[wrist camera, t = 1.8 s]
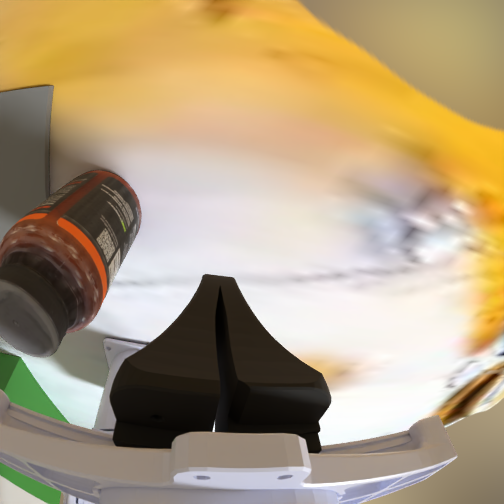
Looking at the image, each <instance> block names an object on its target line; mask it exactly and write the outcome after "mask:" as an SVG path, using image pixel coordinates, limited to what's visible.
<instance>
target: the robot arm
mask: <svg viewBox="0 0 504 504" xmlns="http://www.w3.org/2000/svg"><path fill="white" fill-rule="evenodd" d="M103 345H104V350H105V355H106V359H107V363H108V368H109V374H108V377H107V380H106V384H105V387H104V391H103V395H102V398H101V402H100V406H99V409H98V413H97V417H96V421H95V425H94V428H92V430H91V429H87V428H83V427H80V426H76V425H73V424H70V423H66V422H63V421H60V420H57V419H54V418H51V417H48V416H45V415H43V414H40V413H37V412H34V411H32V410H29V409H27V408H24V407H22V406H19V405H17V404H15V403H12V402H10V400H9V398H8V396H7V395H6V394H5V392H4V391H2V390H1V389H0V462H1V463H2V464H4V465H6V466H8V467H10V468H12V469H14V470H16V471H18V472H20V473H22V474H24V475H26V476H28V477H30V478H32V479H34V480H36V481H38V482H40V483H42V484H45V485H47V486H49V487H51V488H54V489H56V490H59V491H61V492H63V495H64V501H63V504H360V503H363V502H366V501H369V500H372V499H375V498H378V497H381V496H384V495H387V494H390V493H392V492H395V491H397V490H400V489H403V488H405V487H408V486H411V485H413V484H415V483H418V482H421V481H423V480H425V479H426V478H428V477H430V476H431V475H433V474H434V473H436V472H437V471H439V470H440V469H442V468H443V467H444V466H446V465H447V464H449V463H450V462H451V461H453V460H454V459H455V458H457V453H456V451H455V449H454V447H453V445H452V442H451V440H450V438H449V436H448V434H447V432H446V430H445V427H444V425H443V423H442V421H441V419H440V417H439V415H435V416H432V417H428V418H425V419H421V420H419V421H417V422H416V423H415V424H413V425H412V426H411V427H410V428H409V430H407V431H403V432H399V433H395V434H390V435H386V436H381V437H376V438H371V439H366V440H360V441H354V442H348V443H341V444H334V445H326V446H321V444H320V440H319V436H318V433H319V432H320V425H319V422H318V421H319V420H320V418H321V417H322V416H323V414H324V413H325V412H326V410H327V409H328V408H329V406H330V404H331V395H330V392H329V389H328V386H327V384H326V381H325V379H324V377H323V375H322V373H320V372H318V371H317V370H315V369H313V368H312V367H310V366H308V365H307V364H305V363H304V362H302V361H301V360H299V359H298V358H297V357H295V356H294V355H292V354H291V353H290V352H289V351H287V350H286V349H285V348H284V347H283V346H282V345H281V344H280V343H278V342H277V341H276V340H275V339H274V338H273V337H272V336H271V335H270V334H269V332H268V331H267V330H266V329H265V328H264V327H263V325H262V324H261V323H260V322H259V320H258V319H257V317H256V316H255V315H254V313H253V312H252V310H251V309H250V307H249V305H248V304H247V302H246V300H245V299H244V297H243V295H242V293H241V291H240V289H239V287H238V285H237V283H236V280H235V279H234V278H233V277H225V276H217V275H209V274H205V275H203V276H202V280H201V283H200V285H199V287H198V289H197V291H196V293H195V294H194V296H193V298H192V299H191V301H190V302H189V304H188V305H187V306H186V308H185V309H184V310H183V312H182V313H181V314H180V315H179V317H178V318H177V319H176V320H175V321H174V322H173V323H172V324H171V325H170V326H169V327H168V328H167V329H166V330H165V331H164V332H163V333H162V334H161V335H160V336H158V337H157V338H156V339H154V340H153V341H152V342H150V343H149V344H148V345H144V344H138V343H132V342H126V341H120V340H115V339H110V338H105V339H104V341H103ZM214 422H215V432H212V431H213V426H214Z"/></svg>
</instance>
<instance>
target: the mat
mask: <svg viewBox="0 0 504 504" xmlns="http://www.w3.org/2000/svg"><path fill="white" fill-rule="evenodd" d="M53 88H54V86H43V87H35V88H27V89H20V90H13V91H7V92H2V93H0V244H1V242H2V239H3V237H4V236H5V234H6V233H7V232H8V231H9V230H10V229H11V227H13V226H14V225H15V224H16V223H17V222H18V221H19V220H20V219H22V218H23V217H24V216H25V215H26V214H28V213H29V212H30V211H31V210H33V209H34V208H35V207H36V206H38V205H39V204H40V203H42V202H43V201H44V200H46V199H47V198H48V197H49V196H50V189H49V135H50V118H51V106H52V96H53Z"/></svg>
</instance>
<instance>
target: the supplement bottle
mask: <svg viewBox="0 0 504 504" xmlns="http://www.w3.org/2000/svg"><path fill="white" fill-rule="evenodd" d="M140 224H141V208H140V204H139V200H138V198H137V195H136V194H135V192H134V190H133V189H132V188H131V187H130V185H129V184H128V183H127V182H126V181H125V180H124V179H122V178H121V177H119V176H117V175H115V174H113V173H110V172H107V171H101V170H95V171H90V172H87V173H84V174H82V175H80V176H78V177H77V178H75V179H74V180H72V181H70V182H69V183H68V184H66V185H65V186H63V187H62V188H61V189H59V190H58V191H57V192H55V193H54V194H52V195H51V196H49V197H48V198H47V199H46V200H44V201H43V202H42V203H40V204H39V205H38V206H36V207H35V208H34V209H33V210H31V211H30V212H29V213H28V214H26V215H25V216H24V217H23V218H22V219H20V220H19V221H18V222H17V223H16V224H15V225H14V226H13V227H11V229H10V230H9V231H8V232H7V233H6V234H5V236H4V237H3V239H2V242H1V244H0V336H1V337H2V338H3V339H4V340H5V341H6V342H8V343H9V344H10V345H12V346H13V347H14V348H16V349H18V350H19V351H21V352H23V353H25V354H28V355H31V356H34V357H48V356H51V355H52V354H53V353H55V352H56V351H57V349H58V347H59V345H60V343H61V341H62V339H63V337H64V335H65V334H66V333H71V332H75V331H78V330H80V329H82V328H84V327H86V326H87V325H88V324H89V323H90V322H92V320H93V319H94V318H95V316H96V315H97V313H98V311H99V309H100V307H101V305H102V303H103V300H104V298H105V297H106V294H107V292H108V290H109V288H110V286H111V284H112V282H113V280H114V278H115V276H116V274H117V272H118V270H119V268H120V266H121V264H122V262H123V260H124V258H125V256H126V254H127V253H128V251H129V249H130V247H131V245H132V243H133V241H134V239H135V237H136V235H137V233H138V231H139V228H140Z"/></svg>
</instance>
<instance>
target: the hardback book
mask: <svg viewBox="0 0 504 504" xmlns="http://www.w3.org/2000/svg"><path fill="white" fill-rule="evenodd" d="M0 389H1V390H2V391H4V392H5V394H6V395H7V396H8V398H9V400H10V402H12V403H15V404H17V405H19V406H22V407H24V408H27V409H29V410H32V411H34V412H37V413H40V414H43V415H45V416H48V417H51V418H54V419H57V420H60V421H63V422H66V423H69V422H68V421H67V420H66V419H65V417H64V416H63V415H62V414H61V413H60V411H59V410H58V409H57V408H56V406H55V405H54V404H53V403H52V401H51V400H50V399H49V397H48V396H47V395H46V393H45V392H44V391H43V389H42V388H41V387H40V385H39V384H38V382H37V381H36V380H35V378H34V377H33V375H32V374H31V372H30V371H29V369H28V368H27V366H26V365H25V363H24V362H23V360H22V359H21V357H17V356H13V355H8V354H4V353H0ZM60 495H61V491H59V490H56V489H54V488H51V487H49V486H47V485H45V484H42V483H40V482H38V481H36V480H34V479H32V478H30V477H28V476H26V475H24V474H22V473H20V472H18V471H16V470H14V469H12V468H10V467H8V466H6V465H4V464H2V463H1V462H0V504H59V502H60Z"/></svg>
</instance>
